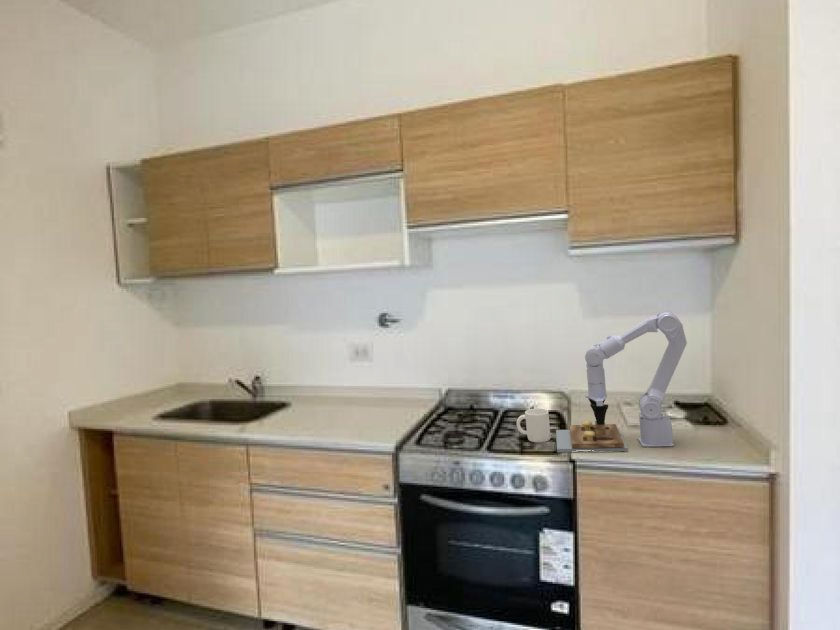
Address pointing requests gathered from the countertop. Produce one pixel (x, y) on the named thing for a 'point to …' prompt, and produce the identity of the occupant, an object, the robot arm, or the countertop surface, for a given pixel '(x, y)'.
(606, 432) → the panel
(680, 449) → the countertop surface
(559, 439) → the boss board
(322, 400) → the countertop surface
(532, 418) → the mug
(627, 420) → the countertop surface
